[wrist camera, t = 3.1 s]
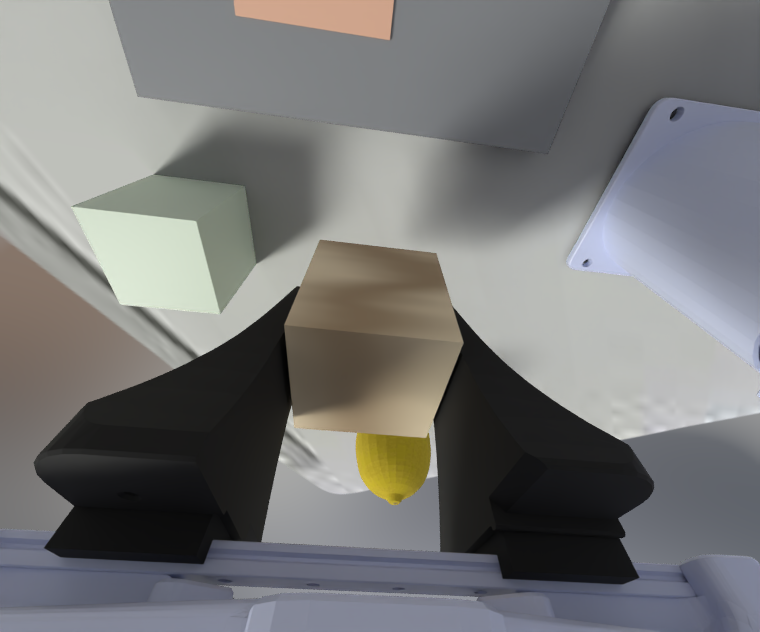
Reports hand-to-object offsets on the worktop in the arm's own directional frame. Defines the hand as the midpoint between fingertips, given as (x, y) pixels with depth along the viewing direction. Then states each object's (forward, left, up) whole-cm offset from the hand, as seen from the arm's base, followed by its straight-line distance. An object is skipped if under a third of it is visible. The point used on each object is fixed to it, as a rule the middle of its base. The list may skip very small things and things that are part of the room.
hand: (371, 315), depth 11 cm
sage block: (+9, 0, -7) cm, 11 cm away
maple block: (0, 0, -1) cm, 1 cm away
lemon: (-3, +14, -7) cm, 16 cm away
